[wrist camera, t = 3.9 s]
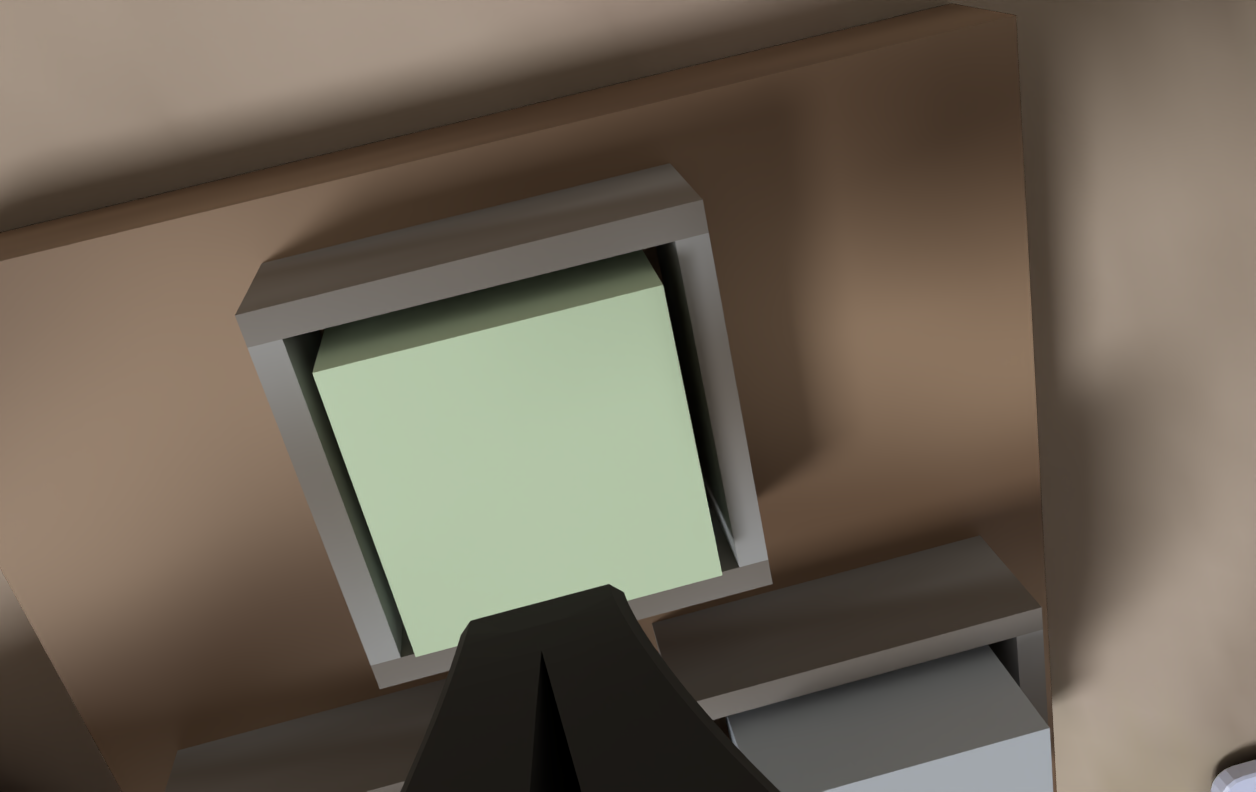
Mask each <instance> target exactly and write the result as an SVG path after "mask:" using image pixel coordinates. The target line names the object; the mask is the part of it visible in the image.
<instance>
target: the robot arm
mask: <svg viewBox="0 0 1256 792" xmlns="http://www.w3.org/2000/svg"><path fill="white" fill-rule="evenodd" d="M400 792H780V791H779V790H778V789H777V788H776V787H775V786H774V785H773V784H772V783H771V782H770V781H769V780H768V779H767V778H766V777H765V776H764V775H763V774H762V773H761V772H760V771H759V770H758V769H757V768H756V767H755V766H754V765H753V764H752V763H751V762H750V761H749V759H748V758H747V757H746V756H745V755H744V754H743V753H742V752H741V751H740V750H739V749H738V748H737V747H736V746H735V745H734V743H733V742H732V741H731V740H730V739H729V738H728V737H727V736H726V735H725V734H724V733H723V731H722V730H721V729H720V728H719V727H718V726H717V724H716V723H715V722H714V721H713V720H712V719H711V717H710V716H709V715H708V714H707V713H706V712H705V711H704V709H703V708H702V707H701V706H700V705H699V704H698V702H697V701H696V700H695V699H694V698H693V697H692V695H691V694H690V693H689V692H688V691H687V690H686V688H685V687H684V686H683V685H682V683H681V682H680V681H679V679H678V678H677V677H676V676H675V674H674V673H673V672H672V671H671V669H670V668H669V666H668V665H667V664H666V662H665V661H664V660H663V658H662V657H661V655H660V654H659V653H658V651H657V650H656V649H655V647H654V646H653V644H652V643H651V641H650V640H649V638H648V637H647V635H646V634H645V632H644V631H643V629H642V627H641V626H640V624H639V622H638V621H637V619H636V617H635V615H634V613H633V612H632V610H631V608H630V606H629V604H628V601H627V599H626V596H625V593H624V592H623V591H621V590H619V589H617V588H616V587H614V586H612V585H610V584H607V585H603V586H599V587H595V588H591V589H588V590H584V591H580V592H576V593H573V594H569V595H565V596H561V597H558V598H554V599H550V600H546V601H542V602H539V603H535V604H531V605H527V606H524V607H520V608H516V609H512V610H509V611H505V612H501V613H497V614H493V615H490V616H486V617H482V618H478V619H475V620H471V621H470V622H469V623H468V625H467V626H466V628H465V629H464V631H463V632H462V634H461V636H460V639H459V642H458V646H457V649H456V652H455V655H454V658H453V661H452V664H451V667H450V670H449V673H448V675H447V678H446V681H445V684H444V687H443V689H442V692H441V695H440V697H439V700H438V703H437V705H436V708H435V710H434V713H433V716H432V718H431V721H430V723H429V726H428V728H427V731H426V733H425V736H424V738H423V741H422V743H421V745H420V748H419V750H418V752H417V755H416V757H415V759H414V761H413V764H412V766H411V768H410V771H409V773H408V775H407V778H406V780H405V782H404V784H403V787H402V789H401V791H400ZM1211 792H1256V759H1255V760H1252V761H1248V762H1245V763H1241V764H1238V765H1234V766H1231V767H1229V768H1227V769H1224V770H1223V771H1222V772H1221V773H1219V774H1218V775H1217V777H1216V778H1215V779H1214V781H1213V784H1212V788H1211Z"/></svg>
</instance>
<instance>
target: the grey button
mask: <svg viewBox="0 0 1256 792" xmlns="http://www.w3.org/2000/svg"><path fill="white" fill-rule="evenodd" d="M725 718H726V723H727V728H728V732H729V737H730V740H731V741H732V742H733V743H734V745H735V746H736V747H737V748H738V749H739V750H740V751H741V752H742V753H743V754H744V755H745V756H746V757H747V758H748V759H749V761H750V762H751V763H752V764H753V765H754V766H755V767H756V768H757V769H758V770H759V771H760V772H761V773H762V774H763V775H764V776H765V777H766V778H767V779H768V780H769V781H770V782H771V783H772V784H773V785H774V786H775V787H776V788H777V789H778V790H779V791H780V792H1053V779H1052V760H1051V742H1050V728H1049V726H1048V725H1047V724H1046V722H1045V721H1044V720H1043V718H1042V717H1041V716H1040V714H1039V713H1038V711H1037V710H1036V709H1035V707H1034V706H1033V705H1032V703H1031V702H1030V701H1029V699H1028V698H1027V697H1026V695H1025V694H1024V693H1023V691H1022V690H1021V689H1020V687H1019V686H1018V685H1017V683H1016V682H1015V681H1014V679H1013V678H1012V676H1011V675H1010V674H1009V672H1008V671H1007V670H1006V668H1005V667H1004V666H1003V664H1002V663H1001V662H1000V660H999V659H998V658H997V656H996V655H995V654H994V652H993V651H992V650H991V648H990V647H989V645H985V646H981V647H977V648H974V649H970V650H966V651H963V652H959V653H955V654H952V655H948V656H945V657H941V658H937V659H934V660H930V661H926V662H923V663H919V664H915V665H912V666H908V667H904V668H901V669H897V670H893V671H890V672H886V673H882V674H879V675H875V676H872V677H868V678H864V679H861V680H857V681H853V682H850V683H846V684H842V685H839V686H835V687H831V688H828V689H824V690H820V691H817V692H813V693H809V694H806V695H802V696H799V697H795V698H791V699H788V700H784V701H780V702H777V703H773V704H769V705H766V706H762V707H758V708H755V709H751V710H747V711H744V712H740V713H736V714H733V715H729V716H726V717H725Z"/></svg>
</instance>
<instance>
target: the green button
mask: <svg viewBox="0 0 1256 792" xmlns="http://www.w3.org/2000/svg"><path fill="white" fill-rule="evenodd" d="M312 374H313V376H314V379H315V382H316V385H317V387H318V390H319V393H320V396H321V398H322V401H323V404H324V407H325V409H326V412H327V415H328V418H329V420H330V423H331V426H332V429H333V431H334V434H335V437H336V440H337V442H338V445H339V448H340V451H341V453H342V456H343V459H344V462H345V464H346V467H347V470H348V473H349V475H350V478H351V481H352V483H353V486H354V489H355V492H356V494H357V497H358V500H359V503H360V505H361V508H362V511H363V514H364V516H365V519H366V522H367V525H368V527H369V530H370V533H371V536H372V538H373V541H374V544H375V547H376V549H377V552H378V555H379V558H380V560H381V563H382V566H383V569H384V571H385V574H386V577H387V580H388V582H389V585H390V588H391V591H392V593H393V596H394V599H395V602H396V604H397V607H398V610H399V613H400V615H401V618H402V621H403V624H404V626H405V629H406V632H407V635H408V637H409V640H410V643H411V645H412V648H413V651H414V654H415V656H416V657H418V656H422V655H426V654H430V653H433V652H437V651H441V650H445V649H448V648H452V647H456V646H458V642H459V639H460V636H461V634H462V632H463V631H464V629H465V628H466V626H467V625H468V623H469V622H470V621H471V620H475V619H478V618H482V617H486V616H490V615H493V614H497V613H501V612H505V611H509V610H512V609H516V608H520V607H524V606H527V605H531V604H535V603H539V602H542V601H546V600H550V599H554V598H558V597H561V596H565V595H569V594H573V593H576V592H580V591H584V590H588V589H591V588H595V587H599V586H603V585H607V584H610V585H612V586H614V587H616V588H617V589H619V590H621V591H623V592H624V593H625V596H626V599H627V601H628V600H632V599H636V598H639V597H643V596H647V595H651V594H654V593H658V592H662V591H666V590H669V589H673V588H677V587H681V586H684V585H688V584H692V583H696V582H699V581H703V580H707V579H711V578H714V577H718V576H722V571H721V566H720V561H719V556H718V551H717V546H716V541H715V536H714V531H713V527H712V522H711V517H710V512H709V507H708V502H707V497H706V492H705V488H704V483H703V478H702V473H701V468H700V463H699V458H698V453H697V449H696V444H695V439H694V434H693V429H692V424H691V419H690V414H689V410H688V405H687V400H686V395H685V390H684V385H683V380H682V375H681V371H680V366H679V361H678V356H677V351H676V346H675V341H674V336H673V331H672V327H671V322H670V317H669V312H668V307H667V302H666V297H665V292H664V288H663V284H662V282H661V281H660V279H659V277H658V276H657V274H656V272H655V271H654V269H653V267H652V265H651V264H650V262H649V260H648V259H647V257H646V255H645V254H644V252H643V250H638V251H634V252H630V253H626V254H622V255H618V256H614V257H610V258H606V259H602V260H598V261H594V262H590V263H586V264H582V265H578V266H574V267H570V268H566V269H562V270H558V271H553V272H549V273H545V274H541V275H537V276H533V277H529V278H525V279H521V280H517V281H513V282H509V283H505V284H501V285H497V286H493V287H489V288H485V289H481V290H477V291H473V292H469V293H465V294H461V295H457V296H453V297H449V298H445V299H441V300H437V301H433V302H429V303H425V304H421V305H417V306H413V307H409V308H405V309H401V310H397V311H393V312H389V313H385V314H381V315H377V316H373V317H369V318H365V319H361V320H357V321H353V322H349V323H345V324H341V325H337V326H333V327H329V328H325V330H324V333H323V337H322V340H321V344H320V348H319V351H318V355H317V358H316V362H315V365H314V369H313V372H312Z"/></svg>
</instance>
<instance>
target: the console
mask: <svg viewBox="0 0 1256 792" xmlns="http://www.w3.org/2000/svg"><path fill="white" fill-rule="evenodd" d="M638 250H643V252H644V254H645V255H646V257H647V259H648V260H649V262H650V264H651V265H652V267H653V269H654V271H655V272H656V274H657V276H658V277H659V279H660V281H661V282H662V284H663V288H664V292H665V297H666V302H667V307H668V312H669V317H670V322H671V327H672V331H673V336H674V341H675V346H676V351H677V356H678V361H679V366H680V371H681V375H682V380H683V385H684V390H685V395H686V400H687V405H688V410H689V414H690V419H691V424H692V429H693V434H694V439H695V444H696V449H697V453H698V458H699V463H700V468H701V473H702V478H703V483H704V488H705V492H706V497H707V502H708V507H709V512H710V517H711V522H712V527H713V531H714V536H715V541H716V546H717V551H718V556H719V561H720V566H721V571H722V576H718V577H714V578H711V579H707V580H703V581H699V582H696V583H692V584H688V585H684V586H681V587H677V588H673V589H669V590H666V591H662V592H658V593H654V594H651V595H647V596H643V597H639V598H636V599H632V600H628V604H629V606H630V608H631V610H632V612H633V613H634V615H635V617H636V619H637V621H638V622H639V624H640V626H641V627H642V629H643V631H644V632H645V634H646V635H647V637H648V638H649V640H650V641H651V643H652V644H653V646H654V647H655V649H656V650H657V651H658V653H659V654H660V655H661V657H662V658H663V660H664V661H665V662H666V664H667V665H668V666H669V668H670V669H671V671H672V672H673V673H674V674H675V676H676V677H677V678H678V679H679V681H680V682H681V683H682V685H683V686H684V687H685V688H686V690H687V691H688V692H689V693H690V694H691V695H692V697H693V698H694V699H695V700H696V701H697V702H698V704H699V705H700V706H701V707H702V708H703V709H704V711H705V712H706V713H707V714H708V715H709V716H710V717H711V719H712V720H713V721H714V722H715V723H716V724H717V726H718V727H719V728H720V729H721V730H722V731H723V733H724V734H725V735H726V736H727V737H728V738H729V739H730V737H729V732H728V728H727V723H726V718H725V717H726V716H729V715H733V714H736V713H740V712H744V711H747V710H751V709H755V708H758V707H762V706H766V705H769V704H773V703H777V702H780V701H784V700H788V699H791V698H795V697H799V696H802V695H806V694H809V693H813V692H817V691H820V690H824V689H828V688H831V687H835V686H839V685H842V684H846V683H850V682H853V681H857V680H861V679H864V678H868V677H872V676H875V675H879V674H882V673H886V672H890V671H893V670H897V669H901V668H904V667H908V666H912V665H915V664H919V663H923V662H926V661H930V660H934V659H937V658H941V657H945V656H948V655H952V654H955V653H959V652H963V651H966V650H970V649H974V648H977V647H981V646H985V645H989V647H990V648H991V650H992V651H993V652H994V654H995V655H996V656H997V658H998V659H999V660H1000V662H1001V663H1002V664H1003V666H1004V667H1005V668H1006V670H1007V671H1008V672H1009V674H1010V675H1011V676H1012V678H1013V679H1014V681H1015V682H1016V683H1017V685H1018V686H1019V687H1020V689H1021V690H1022V691H1023V693H1024V694H1025V695H1026V697H1027V698H1028V699H1029V701H1030V702H1031V703H1032V705H1033V706H1034V707H1035V709H1036V710H1037V711H1038V713H1039V714H1040V716H1041V717H1042V718H1043V720H1044V721H1045V722H1046V724H1047V725H1048V726H1049V728H1050V742H1051V760H1052V779H1053V792H1057V789H1056V770H1055V751H1054V732H1053V712H1052V693H1051V674H1050V655H1049V636H1048V617H1047V598H1046V579H1045V559H1044V540H1043V521H1042V502H1041V483H1040V464H1039V445H1038V425H1037V406H1036V387H1035V368H1034V349H1033V330H1032V311H1031V291H1030V272H1029V253H1028V234H1027V215H1026V196H1025V177H1024V158H1023V138H1022V119H1021V100H1020V81H1019V62H1018V43H1017V24H1016V15H1012V14H1006V13H1001V12H995V11H990V10H984V9H979V8H973V7H968V6H962V5H957V4H947V5H943V6H939V7H935V8H931V9H927V10H923V11H918V12H914V13H910V14H906V15H902V16H898V17H893V18H889V19H885V20H881V21H877V22H873V23H869V24H864V25H860V26H856V27H852V28H848V29H844V30H839V31H835V32H831V33H827V34H823V35H819V36H815V37H810V38H806V39H802V40H798V41H794V42H790V43H785V44H781V45H777V46H773V47H769V48H765V49H761V50H756V51H752V52H748V53H744V54H740V55H736V56H732V57H727V58H723V59H719V60H715V61H711V62H707V63H702V64H698V65H694V66H690V67H686V68H682V69H678V70H673V71H669V72H665V73H661V74H657V75H653V76H648V77H644V78H640V79H636V80H632V81H628V82H624V83H619V84H615V85H611V86H607V87H603V88H599V89H594V90H590V91H586V92H582V93H578V94H574V95H570V96H565V97H561V98H557V99H553V100H549V101H545V102H541V103H536V104H532V105H528V106H524V107H520V108H516V109H511V110H507V111H503V112H499V113H495V114H491V115H487V116H482V117H478V118H474V119H470V120H466V121H462V122H457V123H453V124H449V125H445V126H441V127H437V128H433V129H428V130H424V131H420V132H416V133H412V134H408V135H403V136H399V137H395V138H391V139H387V140H383V141H379V142H374V143H370V144H366V145H362V146H358V147H354V148H350V149H345V150H341V151H337V152H333V153H329V154H325V155H320V156H316V157H312V158H308V159H304V160H300V161H296V162H291V163H287V164H283V165H279V166H275V167H271V168H266V169H262V170H258V171H254V172H250V173H246V174H242V175H237V176H233V177H229V178H225V179H221V180H217V181H212V182H208V183H204V184H200V185H196V186H192V187H188V188H183V189H179V190H175V191H171V192H167V193H163V194H159V195H154V196H150V197H146V198H142V199H138V200H134V201H129V202H125V203H121V204H117V205H113V206H109V207H105V208H100V209H96V210H92V211H88V212H84V213H80V214H75V215H71V216H67V217H63V218H59V219H55V220H51V221H46V222H42V223H38V224H34V225H30V226H26V227H22V228H17V229H13V230H9V231H5V232H1V233H0V569H1V571H2V573H3V575H4V576H5V578H6V580H7V582H8V584H9V586H10V587H11V589H12V591H13V593H14V595H15V597H16V598H17V600H18V602H19V604H20V606H21V608H22V609H23V611H24V613H25V615H26V617H27V619H28V620H29V622H30V624H31V626H32V628H33V630H34V631H35V633H36V635H37V637H38V639H39V641H40V642H41V644H42V646H43V648H44V650H45V652H46V653H47V655H48V657H49V659H50V661H51V663H52V664H53V666H54V668H55V670H56V672H57V674H58V675H59V677H60V679H61V681H62V683H63V685H64V686H65V688H66V690H67V692H68V694H69V696H70V697H71V699H72V701H73V703H74V705H75V707H76V708H77V710H78V712H79V714H80V716H81V718H82V719H83V721H84V723H85V725H86V727H87V729H88V731H89V732H90V734H91V736H92V738H93V740H94V742H95V743H96V745H97V747H98V749H99V751H100V753H101V754H102V756H103V758H104V760H105V762H106V764H107V765H108V767H109V769H110V771H111V773H112V775H113V776H114V778H115V780H116V782H117V784H118V786H119V787H120V789H121V791H122V792H400V791H401V789H402V787H403V784H404V782H405V780H406V778H407V775H408V773H409V771H410V768H411V766H412V764H413V761H414V759H415V757H416V755H417V752H418V750H419V748H420V745H421V743H422V741H423V738H424V736H425V733H426V731H427V728H428V726H429V723H430V721H431V718H432V716H433V713H434V710H435V708H436V705H437V703H438V700H439V697H440V695H441V692H442V689H443V687H444V684H445V681H446V678H447V675H448V673H449V670H450V667H451V664H452V661H453V658H454V655H455V652H456V649H457V646H456V647H452V648H448V649H445V650H441V651H437V652H433V653H430V654H426V655H422V656H418V657H416V656H415V654H414V651H413V648H412V645H411V643H410V640H409V637H408V635H407V632H406V629H405V626H404V624H403V621H402V618H401V615H400V613H399V610H398V607H397V604H396V602H395V599H394V596H393V593H392V591H391V588H390V585H389V582H388V580H387V577H386V574H385V571H384V569H383V566H382V563H381V560H380V558H379V555H378V552H377V549H376V547H375V544H374V541H373V538H372V536H371V533H370V530H369V527H368V525H367V522H366V519H365V516H364V514H363V511H362V508H361V505H360V503H359V500H358V497H357V494H356V492H355V489H354V486H353V483H352V481H351V478H350V475H349V473H348V470H347V467H346V464H345V462H344V459H343V456H342V453H341V451H340V448H339V445H338V442H337V440H336V437H335V434H334V431H333V429H332V426H331V423H330V420H329V418H328V415H327V412H326V409H325V407H324V404H323V401H322V398H321V396H320V393H319V390H318V387H317V385H316V382H315V379H314V376H313V374H312V372H313V369H314V365H315V362H316V358H317V355H318V351H319V348H320V344H321V340H322V337H323V333H324V330H325V328H329V327H333V326H337V325H341V324H345V323H349V322H353V321H357V320H361V319H365V318H369V317H373V316H377V315H381V314H385V313H389V312H393V311H397V310H401V309H405V308H409V307H413V306H417V305H421V304H425V303H429V302H433V301H437V300H441V299H445V298H449V297H453V296H457V295H461V294H465V293H469V292H473V291H477V290H481V289H485V288H489V287H493V286H497V285H501V284H505V283H509V282H513V281H517V280H521V279H525V278H529V277H533V276H537V275H541V274H545V273H549V272H553V271H558V270H562V269H566V268H570V267H574V266H578V265H582V264H586V263H590V262H594V261H598V260H602V259H606V258H610V257H614V256H618V255H622V254H626V253H630V252H634V251H638Z"/></svg>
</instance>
